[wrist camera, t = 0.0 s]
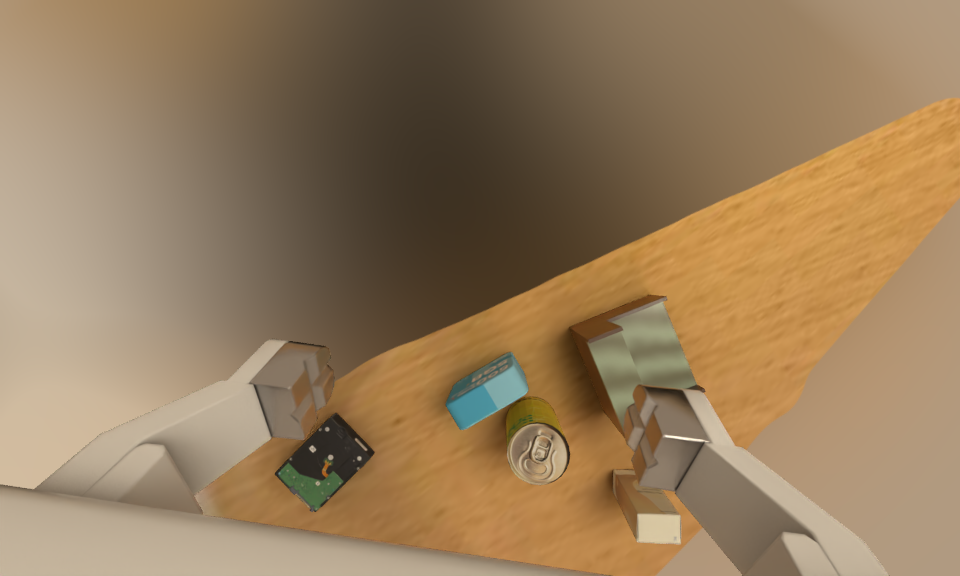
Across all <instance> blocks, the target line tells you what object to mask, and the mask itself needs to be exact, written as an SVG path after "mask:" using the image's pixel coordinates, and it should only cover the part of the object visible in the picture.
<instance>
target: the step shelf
mask: <svg viewBox="0 0 960 576" xmlns="http://www.w3.org/2000/svg"><path fill="white" fill-rule="evenodd" d="M666 300H667V297H666V296H657V295H649V296H646V297H643V298H641V299H638V300H636V301H633V302H631V303H628V304H626V305H623V306H621V307H618V308H616V309H613V310H611V311H608V312H606V313H603V314H601V315H598V316H596V317H593V318H591V319H588V320H586V321H583V322H581V323H578V324H576V325H573V326H571V327H569V328H570V330H571V333H572V335H573V338H574V340H575V343H576V345H577V348H578V350H579V352H580V355H581V357H582V360H583V362H584V364H585V367H586V369H587V372H588V374H589V377H590V379H591V381H592V384H593V386H594V389H595V391H596V394H597V396H598V398H599V401H600V403H601V406H602V408H603V411H604V413H605V414H606V415H607V416H608V418H609V419H610V420H611V421H612V423H613V424H614V425H615V427H616V428H617V429H618V430H619V432H620V433H621V434H622V435H623V437H624V438H625V436H624V429H623V424H624V415H625V412H626V409H627V407H628V406H630V405H631V404H633V403H634V399H633V396H632V394H633V391H634V389H635V387H636V386H637V385H638V384H642V385H651V386H660V387H668V388H677V389H679V388H680V389H689V390H699V391H701V392H702V393H704V392H705V389H704V388H702V387H700V386H698V385H697V383H696V381H695V379H694V376H693V374H692V371H691V369H690V366H689V364H688V362H687V359H686V357H685V354H684V352H683V349H682V347H681V345H680V342H679V340H678V337H677V335H676V333H675V330H674V328H673V325H672V323H671V320H670V318H669V316H668V313H667V311H666V308H665V306H664V303H663V301H666Z"/></svg>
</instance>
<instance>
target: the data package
mask: <svg viewBox="0 0 960 576" xmlns="http://www.w3.org/2000/svg"><path fill="white" fill-rule="evenodd" d="M527 392H528V385H527V381H526V377H525V374H524V372H523V370H522V368H521V367H520V365H519V363H518V362H517V360H516V358H515V357H514V355H513V353H512V352H509V353H506V354H504V355H502V356H501V357H499V358H497V359H496V360H494V361H492V362H491V363H489V364H487V365H485V366H484V367H482V368H480V369H479V370H477V371H475V372H474V373H472V374H470V375H468V376H467V377H465V378H463V379H462V380H460V381H458V382H457V383H456V384H455V385H454V386H453V388H452V390H451V393H450V395H449V397H448V399H447V402H446V407H447V409H448V410H449V412H450V414H451V415H452V417H453V419H454V420H455V422H456V424H457V425H458V427H459V429H460V430H465V429H467V428H469V427H471V426H473V425H474V424H476V423H478V422H480V421H481V420H483V419H485V418H487V417H488V416H490V415H492V414H493V413H495V412H497V411H499V410H500V409H502V408H504V407H506V406H507V405H509V404H511V403H513V402H514V401H516V400H518V399H519V398H521V397H523V396H524V395H525V394H526V393H527Z"/></svg>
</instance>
